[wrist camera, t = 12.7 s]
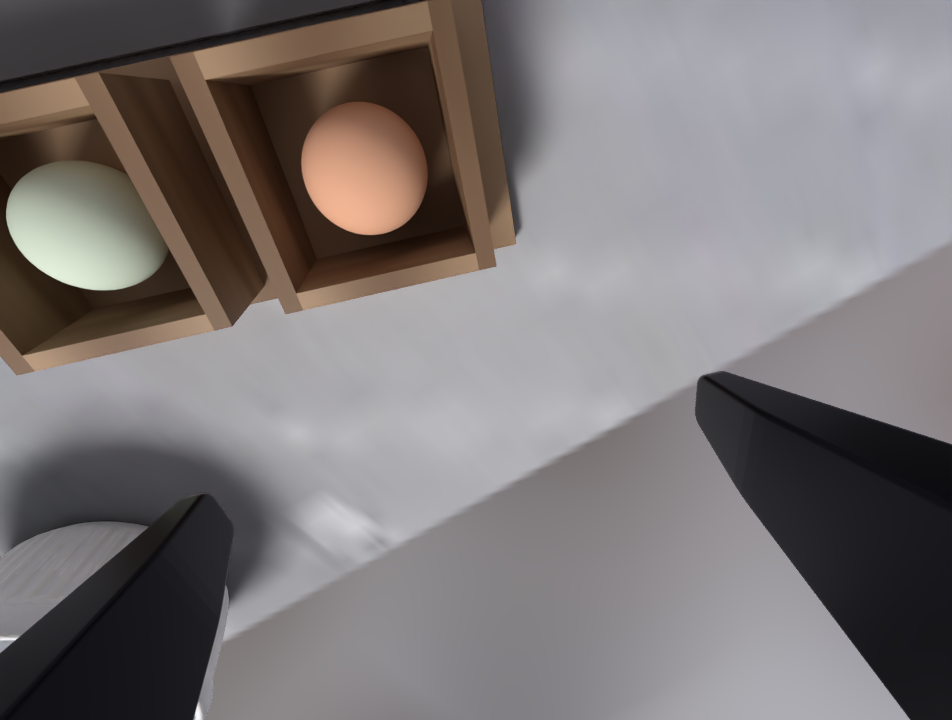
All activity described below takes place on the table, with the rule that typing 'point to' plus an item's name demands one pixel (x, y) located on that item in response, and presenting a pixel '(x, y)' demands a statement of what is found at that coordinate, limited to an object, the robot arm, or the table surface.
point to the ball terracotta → (364, 168)
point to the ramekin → (72, 580)
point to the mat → (129, 27)
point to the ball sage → (85, 226)
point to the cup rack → (257, 176)
